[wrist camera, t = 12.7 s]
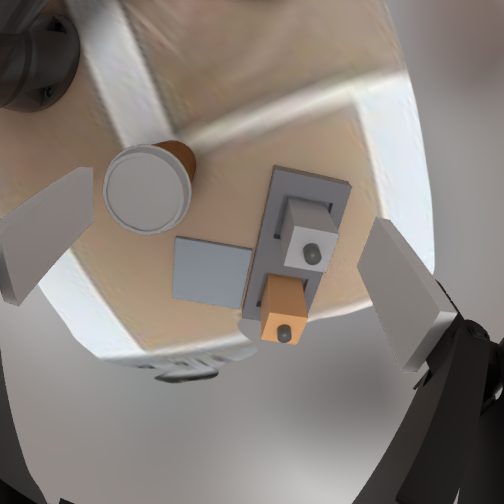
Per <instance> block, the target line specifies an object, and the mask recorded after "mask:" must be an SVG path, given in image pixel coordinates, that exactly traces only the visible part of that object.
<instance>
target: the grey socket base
mask: <svg viewBox="0 0 504 504" xmlns="http://www.w3.org/2000/svg"><path fill="white" fill-rule="evenodd" d="M351 188H352V186H351V185H350V184H349V182H347V181H343V180H339V179H335V178H330V177H326V176H322V175H317V174H313V173H309V172H304V171H299V170H295V169H290V168H285V167H280V166H275V165H274V169H273V174H272V178H271V183H270V187H269V192H268V196H267V201H266V206H265V210H264V215H263V219H262V224H261V228H260V233H259V237H258V242H257V246H256V251H255V256H254V260H253V265H252V269H251V274H250V278H249V283H248V287H247V292H246V296H245V301H244V305H243V310H242V318H246V319H252V320H260V321H261V296H262V293H263V289H264V286H265V282H266V279H267V275H268V273H273V274H279V275H285V276H291V277H298V278H301V280H302V286H303V291H304V297H305V303H306V309H307V314H308V312H309V309H310V307H311V304H312V301H313V299H314V296H315V294H316V291H317V288H318V285H319V283H320V280H321V277H322V275H323V272H325V273H326V271H327V268H328V265H329V262H330V260H331V257H332V254H333V251H334V248H335V245H336V243H337V240H338V237H339V233H338V229H339V225H340V222H341V219H342V216H343V213H344V210H345V207H346V204H347V201H348V197H349V194H350V191H351Z"/></svg>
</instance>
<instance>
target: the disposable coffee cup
mask: <svg viewBox="0 0 504 504" xmlns="http://www.w3.org/2000/svg"><path fill="white" fill-rule="evenodd" d="M195 168H196V160H195V157H194V154H193V152H192V151H191V150H190V148H189V147H188V146H186V145H185V144H183V143H181V142H178V141H166V142H162V143H157V144H153V145H136V146H132V147H129V148H127V149H125V150H123V151H122V152H120V153H119V154H118V155H117V156H116V157H115V158H114V159H113V160H112V161H111V163H110V164H109V166H108V168H107V171H106V174H105V178H104V183H103V197H104V202H105V204H106V207H107V209H108V211H109V213H110V215H111V216H112V217H113V219H114V220H115V221H116V222H117V223H118V224H119V225H121V226H122V227H124V228H125V229H127V230H129V231H131V232H133V233H137V234H142V235H152V234H157V233H161V232H165V231H167V230H169V229H171V228H173V227H174V226H176V225H177V224H178V223H179V222H180V221H181V220H182V219H183V218H184V216H185V215H186V213H187V211H188V209H189V205H190V202H191V193H192V190H191V184H192V180H193V176H194V172H195Z"/></svg>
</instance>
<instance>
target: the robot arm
mask: <svg viewBox="0 0 504 504" xmlns="http://www.w3.org/2000/svg"><path fill="white" fill-rule="evenodd" d="M49 1H50V0H0V108H5V109H10V110H14V111H18V112H34V111H38V110H41V109H44V108H47V107H49V106H50V105H52V104H53V103H55V102H56V101H57V100H58V99H59V98H60V97H61V96H62V95H63V94H64V93H65V91H66V90H67V88H68V87H69V85H70V83H71V82H72V80H73V77H74V75H75V72H76V69H77V66H78V62H79V55H80V43H79V37H78V34H77V31H76V29H75V27H74V25H73V24H72V23H71V22H70V21H69V20H68V19H67V18H65V17H63V16H61V15H57V14H51V13H41V11H42V10H43V9H44V8H45V6H46V5H47V4H48V2H49ZM40 13H41V14H40ZM93 222H94V205H93V168H90V167H78V168H76V169H74V170H73V171H71V172H69V173H68V174H66V175H65V176H63V177H61V178H60V179H58V180H57V181H55V182H53V183H52V184H50V185H49V186H47V187H46V188H44V189H43V190H41V191H40V192H38V193H37V194H35V195H34V196H32V197H31V198H29V199H28V200H26V201H25V202H23V203H22V204H21V205H19V206H18V207H16V208H15V209H14V210H12V211H11V212H10V213H8V214H7V215H6V216H4V217H3V218H2V219H0V290H1V294H2V297H3V299H4V301H5V302H7V303H10V304H13V305H16V306H19V305H20V304H21V303H22V302H23V300H24V299H25V298H26V297H27V295H28V294H29V293H30V292H31V290H32V289H33V288H34V287H35V286H36V285H37V283H38V282H39V281H40V280H41V279H42V277H43V276H44V275H45V274H46V273H47V272H48V270H49V269H50V268H51V267H52V266H53V265H54V264H55V262H56V261H57V260H58V259H59V258H60V257H61V256H62V255H63V254H64V252H65V251H66V250H67V249H68V248H69V247H70V246H71V245H72V244H73V243H74V242H75V241H76V240H77V239H78V238H79V236H80V235H81V234H82V233H83V232H84V231H85V230H86V229H87V228H88V227H89V226H90V225H91V224H92V223H93ZM357 268H358V270H359V273H360V275H361V277H362V279H363V282H364V284H365V286H366V288H367V291H368V293H369V295H370V298H371V300H372V302H373V305H374V307H375V309H376V312H377V314H378V317H379V319H380V322H381V324H382V326H383V329H384V332H385V334H386V336H387V339H388V342H389V345H390V347H391V350H392V352H393V355H394V358H395V360H396V363H397V366H398V369H399V371H400V372H417V371H418V369H419V368H420V367H421V366H422V364H423V363H424V362H425V360H426V362H427V364H428V366H429V369H428V371H427V372H426V373H425V374H424V376H423V377H422V378H421V379H420V381H419V382H418V383H417V384H416V385H415V387H414V388H413V389H414V390H416V389H417V388H418V389H417V392H416V394H415V396H414V398H413V400H412V403H411V405H410V407H409V409H408V411H407V413H406V415H405V417H404V419H403V421H402V423H401V425H400V427H399V428H398V430H397V432H396V434H395V436H394V438H393V440H392V441H391V443H390V445H389V447H388V449H387V450H386V452H385V454H384V455H383V457H382V459H381V461H380V462H379V464H378V465H377V467H376V469H375V470H374V472H373V473H372V475H371V477H370V478H369V480H368V481H367V483H366V484H365V486H364V487H363V489H362V490H361V492H360V493H359V495H358V496H357V497H356V499H355V500H354V502H353V503H352V504H453V503H454V501H455V498H456V496H457V493H458V490H459V496H458V503H457V504H504V338H503V339H502V341H501V342H500V344H497V343H494V342H491V341H490V337H489V335H488V333H487V331H486V330H485V329H484V328H483V327H482V326H480V325H479V324H478V323H476V322H474V321H472V320H464V318H463V317H462V315H461V314H460V312H459V310H458V309H457V307H456V306H455V305H454V303H453V301H451V298H450V297H449V296H448V294H446V291H445V290H444V288H443V287H442V285H441V284H440V283H439V282H438V281H437V280H436V279H434V277H433V276H432V275H431V273H430V272H429V270H428V269H427V268H426V266H425V265H424V263H423V262H422V261H421V259H420V258H419V257H418V255H417V254H416V253H415V251H414V250H413V249H412V247H411V246H410V245H409V244H408V242H407V241H406V240H405V238H404V237H403V236H402V235H401V233H400V232H399V231H398V230H397V228H396V227H395V226H394V225H393V223H392V222H391V221H390V220H388V219H384V218H379V217H376V218H375V221H374V223H373V226H372V229H371V231H370V234H369V237H368V239H367V242H366V245H365V247H364V250H363V252H362V255H361V257H360V260H359V262H358V265H357ZM502 387H503V390H502V393H501V395H500V397H499V398H498V399H497V400H496V399H495V394H496V393H497V392H498V391H499V390H500V389H501V388H502ZM459 488H460V489H459ZM0 504H47V502H46V500H45V498H44V496H43V494H42V492H41V490H40V489H39V487H38V485H37V484H36V483H35V481H34V480H33V478H32V477H31V475H30V473H29V471H28V468H27V466H26V463H25V460H24V457H23V454H22V450H21V447H20V444H19V440H18V437H17V433H16V430H15V426H14V423H13V418H12V414H11V409H10V405H9V400H8V395H7V390H6V385H5V379H4V373H3V366H2V359H1V351H0ZM59 504H74V503H71V502H69V501H66V500H64V499H62V498H60V502H59Z"/></svg>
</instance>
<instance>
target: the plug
mask: <svg viewBox="0 0 504 504" xmlns="http://www.w3.org/2000/svg"><path fill="white" fill-rule="evenodd" d="M307 320H308V314H307V309H306V303H305V297H304V291H303V286H302V280H301V278H298V277H291V276H285V275H279V274H273V273H268V275H267V279H266V282H265V286H264V289H263V293H262V296H261V340H268V341H275V342H282V343H289V344H297V342H298V340H299V338H300V336H301V334H302V331H303V329H304V327H305V324H306V322H307Z"/></svg>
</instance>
